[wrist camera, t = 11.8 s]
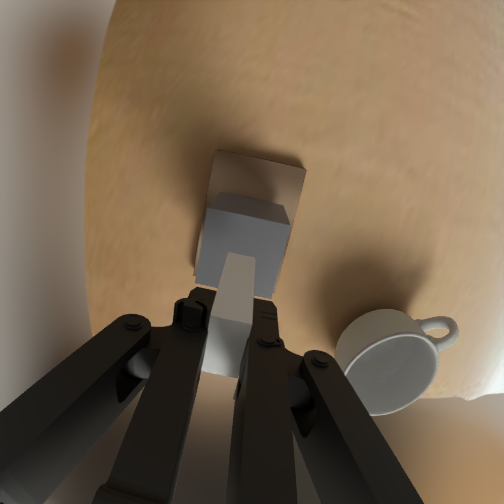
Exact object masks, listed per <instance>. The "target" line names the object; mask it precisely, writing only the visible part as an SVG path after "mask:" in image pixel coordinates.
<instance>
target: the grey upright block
mask: <svg viewBox="0 0 504 504" xmlns="http://www.w3.org/2000/svg"><path fill="white" fill-rule="evenodd" d="M290 227H291V225H290V222H289V219H288V216H287V214H286V211H285V208H284V205H280V204H276V203H271V202H267V201H262V200H258V199H253V198H248V197H244V196H239V195H234V194H229V193H224V192H220V193H219V194H218V196H217V197H216V198H215V199H214V200H213V202H212V203H211V204H210V205H209V206H208V208H207V213H206V219H205V225H204V230H203V236H202V242H201V248H200V254H199V260H198V267H197V273H196V280H195V283H197V284H202V285H206V286H211V287H216V288H218V286H219V282H220V279H221V275H222V272H223V268H224V265H225V261H226V258H227V254H228V252H231V253H236V254H240V255H245V256H250V257H255V276H254V296H259V297H264V298H269V299H271V297H272V294H273V290H274V286H275V283H276V279H277V276H278V272H279V268H280V264H281V261H282V257H283V253H284V250H285V246H286V242H287V238H288V234H289V230H290Z"/></svg>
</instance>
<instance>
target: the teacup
mask: <svg viewBox="0 0 504 504" xmlns="http://www.w3.org/2000/svg"><path fill="white" fill-rule="evenodd" d="M438 328H446V329H449V330H450V332H449V333H448V334H447V335H446V336H444V337H442V338H434V337H432V336H430V335H426V334H425V333H424V332H425V331H428V330H432V329H438ZM458 334H459V330H458V326H457V324H456V322H455V321H454V320H453V319H452V318H449V317H446V316H437V317H432V318H428V319H424V320H420V319H417V320H413V319H412V318H411V317H410V316H409V315H407V314H405V313H404V312H401V311H399V310H394V309H379V310H374V311H371V312H368V313H366V314H364V315H362V316H360V317H358V318H357V319H356V320H354V321H353V322H352V323H351V324H350V325H349V326H348V327H347V328H346V329H345V330H344V331H343V333H342V334H341V336H340V338H339V340H338V342H337V345H336V349H335V357H334V359H335V360H336V361H337V363H338V365H339V366H340V368H341V369H342V371H343V373H344V374H345V376H346V377H347V379H348V381H349V382H350V384H351V385H352V387H353V389H354V390H355V392H356V393H357V395H358V397H359V398H360V400H361V401H362V403H363V405H364V406H365V408H366V409H367V411H368V413H369V414H370V416H378V415H385V414H389V413H392V412H396V411H398V410H401V409H403V408H404V407H406V406H408V405H410V404H411V403H412V402H414V401H415V400H417V399H418V398H419V397H420V396H422V395H423V394H424V393H425V392H426V390H427V389H428V388H429V387H430V385H431V384H432V382H433V380H434V379H435V376H436V374H437V371H438V366H439V354H438V351H442V350H445V349H448V348H450V347H451V346H452V345H454V343H455V342H456V341H457V339H458Z"/></svg>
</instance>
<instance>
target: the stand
mask: <svg viewBox="0 0 504 504" xmlns="http://www.w3.org/2000/svg"><path fill="white" fill-rule="evenodd" d="M306 171H307V170H306V169H303V168H299V167H295V166H291V165H287V164H283V163H279V162H274V161H270V160H265V159H261V158H256V157H252V156H247V155H242V154H237V153H232V152H227V151H222V150H215V155H214V160H213V165H212V170H211V175H210V180H209V186H208V191H207V196H206V202H205V207H204V213H203V219H202V224H201V230H200V236H199V242H198V248H197V255H196V261H195V268H194V274H193V276H196V273H197V267H198V260H199V254H200V248H201V242H202V236H203V230H204V225H205V219H206V213H207V208H208V206H209V205H210V204H211V203H212V202H213V200H214V199H215V198H216V197H217V196H218V194H219V193H220V192H224V193H229V194H234V195H239V196H244V197H248V198H253V199H258V200H262V201H267V202H271V203H276V204H280V205H284V208H285V211H286V214H287V216H288V219H289V222H290V225H291V227H290V230H289V234H288V238H287V242H286V246H285V250H284V253H283V257H282V261H281V264H280V268H279V272H278V276H277V279H276V283H275V286H274V290H273V293H275V289H276V285H277V282H278V278H279V275H280V271H281V267H282V264H283V260H284V256H285V252H286V249H287V245H288V241H289V237H290V234H291V230H292V226H293V222H294V218H295V214H296V211H297V207H298V203H299V199H300V195H301V191H302V187H303V183H304V179H305V175H306Z"/></svg>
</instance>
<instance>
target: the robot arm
mask: <svg viewBox="0 0 504 504" xmlns="http://www.w3.org/2000/svg"><path fill="white" fill-rule="evenodd" d="M254 276H255V257H250V256H245V255H240V254H236V253H231V252H228V254H227V258H226V261H225V265H224V268H223V272H222V275H221V279H220V282H219V286H218V289H217V291H214V290H209V289H205V288H200V287H196V288H195V289H193V290H191V291H190V294H189V296H188V298H182V299H180V300H177V302H176V303H175V306H174V315H173V323H172V325H170V326H165V327H151V323H150V321H149V320H148V319H147V318H145V317H144V316H141V315H138V314H126V315H122V316H120V317H119V318H117V319H116V320H115V321H113V322H112V323H111V324H109V325H108V326H107V327H106V328H104V329H103V330H102V331H100V332H99V333H98V334H96V335H95V336H94V337H93V338H91V339H90V340H89V341H88V342H86V343H85V344H84V345H82V346H81V347H80V348H79V349H77V350H76V351H75V352H73V353H72V354H71V355H70V356H68V357H67V358H66V359H65V360H63V361H62V362H61V363H60V364H59V365H57V366H56V367H55V368H53V369H52V370H51V371H50V372H49V373H47V374H46V375H45V376H44V377H42V378H41V379H40V380H39V381H37V382H36V383H35V384H34V385H32V386H31V387H30V388H29V389H27V390H26V391H25V392H24V393H23V394H21V395H20V396H19V397H18V398H17V399H15V400H14V401H13V402H12V403H11V404H10V405H8V406H7V407H6V408H4V409H3V410H2V411H1V412H0V504H43V503H44V502H45V501H46V500H47V499H48V498H49V496H50V495H51V494H52V493H53V492H54V491H55V489H56V488H57V487H58V486H59V485H60V484H61V482H62V481H63V480H64V479H65V478H66V477H67V476H68V474H69V473H70V472H71V471H72V470H73V469H74V468H75V466H76V465H77V464H78V463H79V462H80V460H81V459H82V458H83V457H84V456H85V455H86V454H87V452H88V451H89V450H90V449H91V448H92V447H93V445H94V444H95V443H96V442H97V441H98V440H99V439H100V437H101V436H102V435H103V434H104V433H105V432H106V430H107V429H108V428H109V427H110V426H111V425H112V423H113V422H114V421H115V420H116V419H117V418H118V416H119V415H120V414H121V413H122V412H123V411H124V409H125V408H126V407H127V406H128V405H129V404H130V402H131V401H132V400H133V399H134V398H135V397H136V395H137V394H138V393H139V392H140V391H141V390H142V388H143V387H144V386H145V387H144V390H143V392H142V395H141V397H140V400H139V402H138V404H137V407H136V409H135V412H134V414H133V417H132V419H131V422H130V424H129V427H128V429H127V432H126V434H125V437H124V439H123V442H122V445H121V447H120V450H119V453H118V455H117V458H116V460H115V463H114V465H113V468H112V471H111V474H110V476H109V479H108V481H107V482H106V483H105V484H103V485H101V486H100V487H99V488H98V490H97V492H96V494H95V496H94V499H93V501H92V504H172V502H173V497H174V492H175V488H176V483H177V478H178V473H179V469H180V464H181V460H182V455H183V450H184V445H185V441H186V437H187V432H188V428H189V423H190V419H191V414H192V410H193V405H194V401H195V397H196V393H197V388H198V383H199V380H200V373H201V371H204V372H209V373H214V374H219V375H224V376H229V377H234V378H238V376H239V379H238V383H237V386H236V390H235V394H234V397H233V399H234V400H235V405H234V415H233V425H232V435H231V444H230V455H229V464H228V475H227V484H226V494H225V504H297V489H296V474H295V461H294V447H293V434H294V436H295V439H296V441H297V444H298V446H299V449H300V452H301V454H302V457H303V459H304V461H305V464H306V467H307V469H308V472H309V474H310V477H311V479H312V482H313V484H314V487H315V489H316V491H317V494H318V497H319V499H320V501H321V504H424V503H423V501H422V499H421V498H420V496H419V494H418V493H417V491H416V489H415V488H414V486H413V485H412V483H411V481H410V479H409V478H408V476H407V475H406V473H405V471H404V470H403V468H402V467H401V465H400V463H399V461H398V460H397V458H396V456H395V455H394V453H393V452H392V450H391V448H390V447H389V445H388V443H387V442H386V440H385V439H384V437H383V435H382V434H381V432H380V431H379V429H378V427H377V426H376V424H375V422H374V421H373V419H372V418H371V416H370V414H369V413H368V411H367V409H366V408H365V406H364V405H363V403H362V401H361V400H360V398H359V397H358V395H357V393H356V392H355V390H354V389H353V387H352V385H351V384H350V382H349V381H348V379H347V377H346V376H345V374H344V373H343V371H342V369H341V368H340V366H339V365H338V363H337V361H336V360H335V359H334V358H333V357H332V356H331V355H329V354H328V353H326V352H323V351H319V350H311V351H308V352H306V353H305V354H304V356H300V355H297V354H295V353H292V352H290V351H289V350H287V349H286V348H285V345H284V342H283V340H282V339H281V338H280V337H279V329H278V321H277V320H278V317H277V308H276V306H275V305H274V304H273V302H272V301H266V300H261V299H256V298H254ZM292 431H293V434H292Z"/></svg>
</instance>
